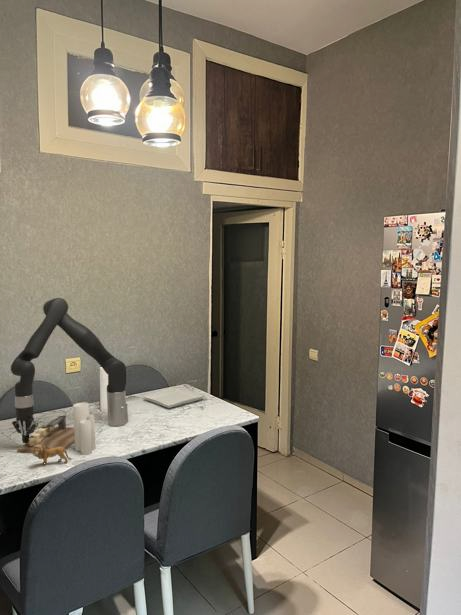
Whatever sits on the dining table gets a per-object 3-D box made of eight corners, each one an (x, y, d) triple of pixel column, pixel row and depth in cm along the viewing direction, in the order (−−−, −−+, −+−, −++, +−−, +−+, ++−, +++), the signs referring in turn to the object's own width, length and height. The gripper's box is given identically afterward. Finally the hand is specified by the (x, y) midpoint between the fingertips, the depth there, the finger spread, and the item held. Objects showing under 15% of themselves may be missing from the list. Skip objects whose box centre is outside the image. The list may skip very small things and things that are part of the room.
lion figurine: (33, 469, 183) (32, 448, 183) (33, 464, 188) (31, 443, 187) (72, 462, 190) (71, 441, 189) (70, 457, 194) (69, 437, 194)
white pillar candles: (72, 448, 204) (70, 404, 202) (87, 444, 209) (85, 401, 207) (84, 455, 196) (82, 410, 194) (100, 450, 201) (98, 406, 199)
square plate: (178, 392, 294) (178, 386, 293) (206, 401, 274) (205, 394, 273) (142, 401, 275) (141, 395, 275) (168, 411, 255) (168, 404, 255)
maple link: (43, 432, 219) (42, 423, 219) (51, 432, 219) (51, 423, 218) (26, 446, 203) (26, 436, 202) (35, 446, 202) (35, 436, 202)
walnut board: (88, 430, 226) (87, 415, 226) (61, 453, 199) (60, 436, 198) (49, 429, 228) (48, 414, 228) (17, 452, 201) (16, 435, 200)
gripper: (5, 405, 203) (7, 444, 204) (30, 408, 199) (32, 447, 200) (18, 401, 210) (20, 438, 211) (42, 403, 206) (43, 441, 207)
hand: (25, 442), depth 206 cm, fingers closed
